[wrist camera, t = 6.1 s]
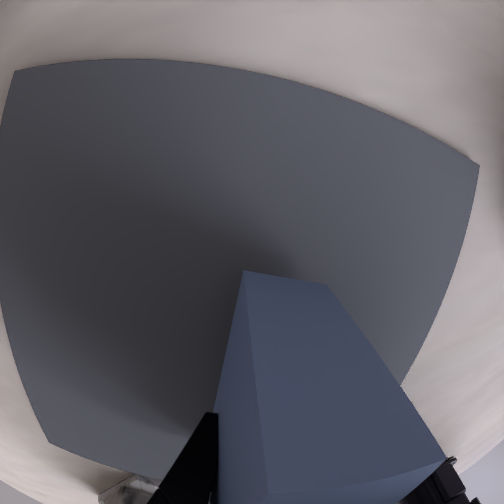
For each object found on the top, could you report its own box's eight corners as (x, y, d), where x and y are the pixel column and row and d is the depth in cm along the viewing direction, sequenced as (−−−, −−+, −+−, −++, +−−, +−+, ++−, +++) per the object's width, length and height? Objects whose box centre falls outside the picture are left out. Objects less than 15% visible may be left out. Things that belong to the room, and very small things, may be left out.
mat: (321, 482, 14) (322, 486, 13) (51, 438, 11) (49, 442, 11) (473, 164, 8) (479, 165, 8) (20, 73, 6) (14, 71, 6)
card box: (257, 459, 10) (269, 570, 5) (204, 454, 10) (200, 570, 4) (326, 284, 8) (446, 458, 2) (243, 270, 8) (269, 492, 2)
